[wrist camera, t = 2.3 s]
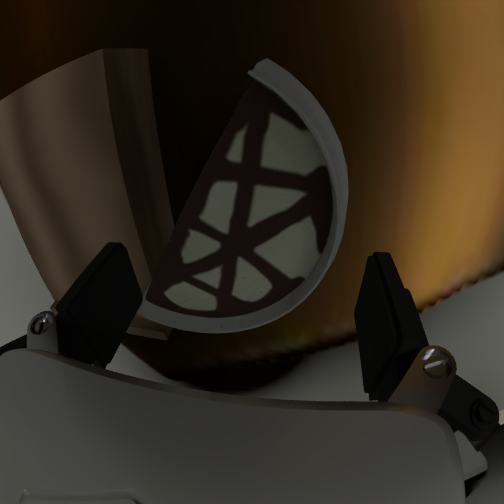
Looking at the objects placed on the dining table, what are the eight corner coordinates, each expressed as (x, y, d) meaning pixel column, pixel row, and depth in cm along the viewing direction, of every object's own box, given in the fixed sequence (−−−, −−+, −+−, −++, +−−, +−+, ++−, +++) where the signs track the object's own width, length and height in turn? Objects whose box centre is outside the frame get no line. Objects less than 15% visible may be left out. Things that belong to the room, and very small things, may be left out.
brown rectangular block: (148, 48, 14) (90, 49, 9) (189, 288, 25) (167, 340, 21) (26, 95, 15) (-25, 116, 11) (82, 276, 27) (54, 315, 22)
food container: (263, 255, 22) (241, 369, 14) (192, 215, 21) (132, 317, 13) (366, 121, 15) (436, 184, 7) (279, 64, 14) (258, 53, 6)
